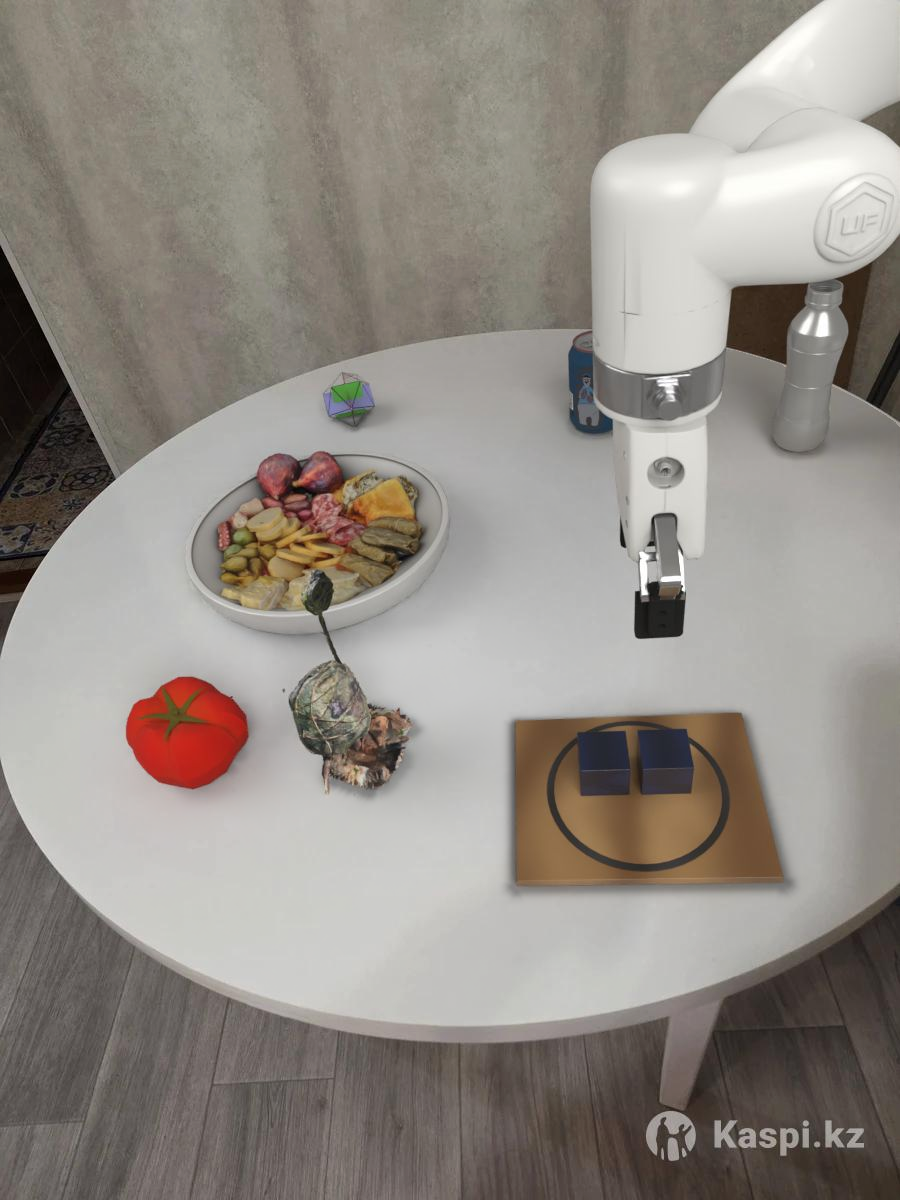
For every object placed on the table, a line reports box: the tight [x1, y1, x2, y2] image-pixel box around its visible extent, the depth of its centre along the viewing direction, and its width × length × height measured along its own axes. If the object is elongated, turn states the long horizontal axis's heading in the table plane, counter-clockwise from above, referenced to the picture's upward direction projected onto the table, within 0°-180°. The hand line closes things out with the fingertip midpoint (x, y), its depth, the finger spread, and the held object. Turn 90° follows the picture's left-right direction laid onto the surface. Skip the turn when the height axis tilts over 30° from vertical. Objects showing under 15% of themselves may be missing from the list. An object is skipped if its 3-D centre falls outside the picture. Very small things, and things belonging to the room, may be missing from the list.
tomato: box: [125, 676, 250, 790], centre depth 79 cm, size 10×11×6 cm
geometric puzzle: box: [321, 371, 376, 429], centre depth 122 cm, size 7×7×8 cm
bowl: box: [184, 450, 451, 635], centre depth 98 cm, size 30×30×8 cm
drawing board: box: [515, 712, 784, 887], centre depth 72 cm, size 20×16×1 cm
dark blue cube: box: [636, 729, 694, 795], centre depth 71 cm, size 4×4×4 cm
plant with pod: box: [281, 569, 414, 796], centre depth 72 cm, size 8×11×20 cm
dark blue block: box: [577, 731, 631, 796], centre depth 72 cm, size 4×4×4 cm
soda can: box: [567, 329, 613, 436], centre depth 112 cm, size 7×7×12 cm
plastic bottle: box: [771, 279, 849, 453], centre depth 100 cm, size 6×7×20 cm
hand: (649, 587), depth 63 cm, fingers open, 9 cm apart
